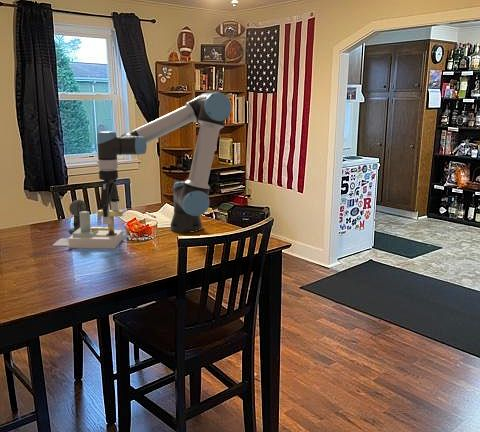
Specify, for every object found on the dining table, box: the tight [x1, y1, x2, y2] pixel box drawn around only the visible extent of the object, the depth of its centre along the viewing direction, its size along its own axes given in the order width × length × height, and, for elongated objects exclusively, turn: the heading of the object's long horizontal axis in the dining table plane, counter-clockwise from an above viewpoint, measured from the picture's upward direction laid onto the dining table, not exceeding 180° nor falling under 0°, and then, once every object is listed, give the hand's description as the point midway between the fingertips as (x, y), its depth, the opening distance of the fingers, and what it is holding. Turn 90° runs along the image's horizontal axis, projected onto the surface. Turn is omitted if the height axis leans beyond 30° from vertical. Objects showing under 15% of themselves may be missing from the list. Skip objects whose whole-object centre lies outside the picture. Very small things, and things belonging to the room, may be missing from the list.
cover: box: [72, 210, 98, 237], centre depth 200 cm, size 8×9×10 cm
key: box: [90, 209, 124, 235], centre depth 199 cm, size 14×2×10 cm, turn 90°
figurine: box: [67, 199, 87, 235], centre depth 216 cm, size 9×10×15 cm
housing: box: [68, 229, 124, 249], centre depth 201 cm, size 19×14×4 cm
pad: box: [51, 237, 69, 247], centre depth 202 cm, size 8×10×1 cm
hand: (110, 220), depth 199 cm, fingers open, 12 cm apart
